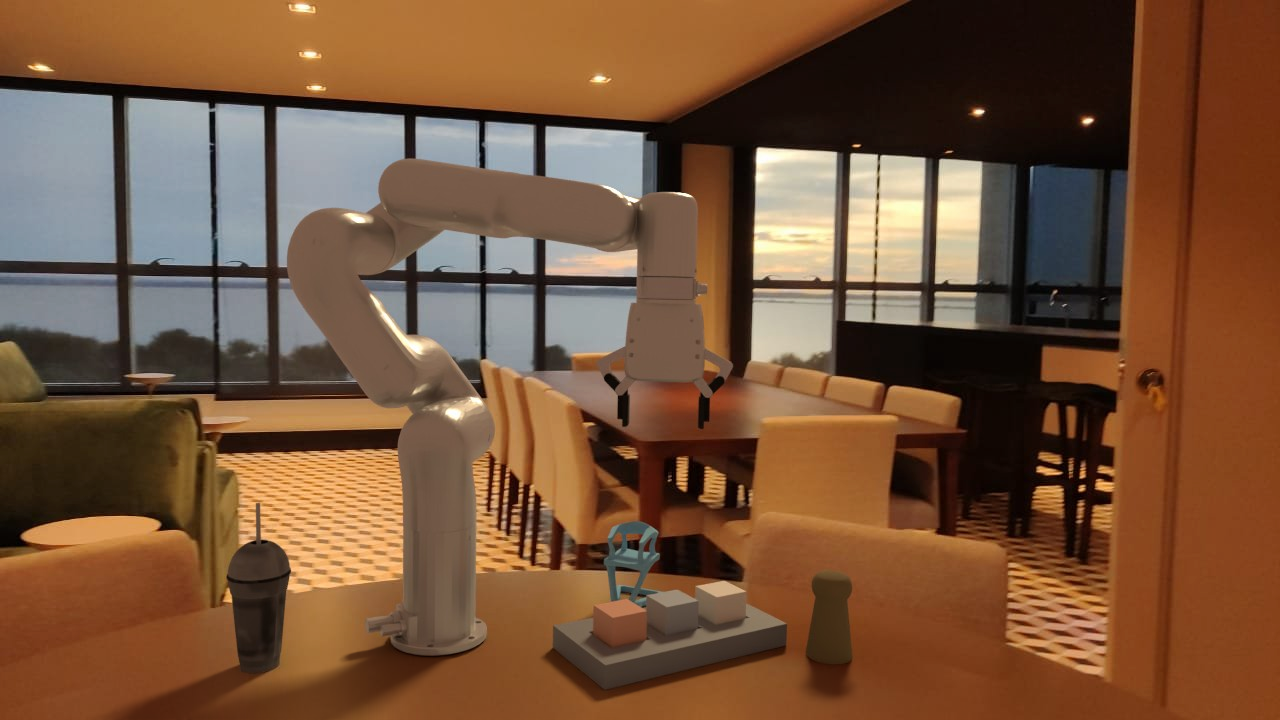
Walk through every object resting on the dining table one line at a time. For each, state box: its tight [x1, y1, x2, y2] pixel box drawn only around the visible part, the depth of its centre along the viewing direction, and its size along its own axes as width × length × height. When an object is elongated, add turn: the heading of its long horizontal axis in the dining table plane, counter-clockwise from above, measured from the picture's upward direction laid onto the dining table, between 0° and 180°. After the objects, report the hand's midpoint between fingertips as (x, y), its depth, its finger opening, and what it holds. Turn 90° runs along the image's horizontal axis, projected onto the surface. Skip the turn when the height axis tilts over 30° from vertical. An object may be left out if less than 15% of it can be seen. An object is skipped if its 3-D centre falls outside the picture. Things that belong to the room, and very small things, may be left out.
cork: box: [805, 569, 853, 665], centre depth 115 cm, size 6×6×11 cm
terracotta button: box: [592, 598, 647, 648], centre depth 112 cm, size 5×5×4 cm
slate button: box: [645, 589, 699, 636], centre depth 116 cm, size 5×5×4 cm
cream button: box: [694, 580, 748, 625], centre depth 120 cm, size 5×5×4 cm
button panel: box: [552, 597, 788, 691], centre depth 116 cm, size 28×14×3 cm, turn 122°
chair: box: [603, 520, 662, 608], centre depth 132 cm, size 8×8×12 cm
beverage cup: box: [226, 502, 292, 674], centre depth 107 cm, size 7×7×20 cm
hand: (663, 426), depth 112 cm, fingers open, 9 cm apart
